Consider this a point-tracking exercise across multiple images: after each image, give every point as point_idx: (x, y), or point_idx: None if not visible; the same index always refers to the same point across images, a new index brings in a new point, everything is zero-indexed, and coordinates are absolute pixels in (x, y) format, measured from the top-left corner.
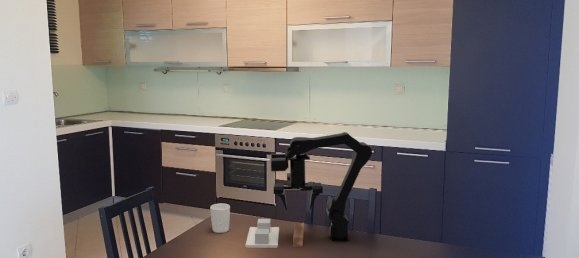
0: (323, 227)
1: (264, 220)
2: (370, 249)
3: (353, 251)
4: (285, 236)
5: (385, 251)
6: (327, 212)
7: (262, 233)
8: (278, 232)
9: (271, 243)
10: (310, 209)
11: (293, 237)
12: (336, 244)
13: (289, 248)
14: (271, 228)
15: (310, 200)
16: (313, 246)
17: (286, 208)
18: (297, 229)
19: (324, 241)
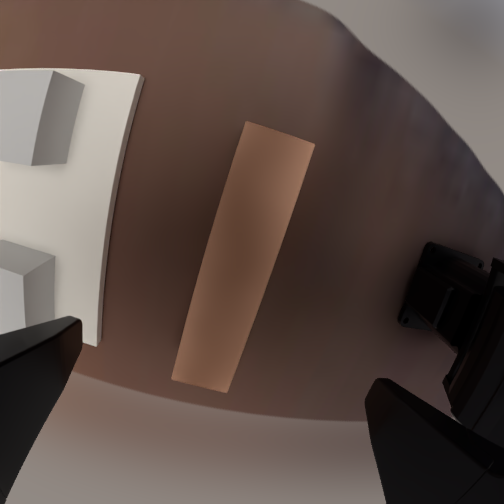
0: (426, 126)
1: (12, 106)
2: None
3: None
4: (158, 200)
5: None
6: (484, 356)
7: (2, 332)
8: (114, 168)
9: None
10: (370, 407)
11: (173, 378)
12: (393, 358)
13: (157, 361)
14: (88, 93)
15: (419, 479)
16: (284, 365)
17: (65, 371)
18: (225, 269)
19: (361, 320)
